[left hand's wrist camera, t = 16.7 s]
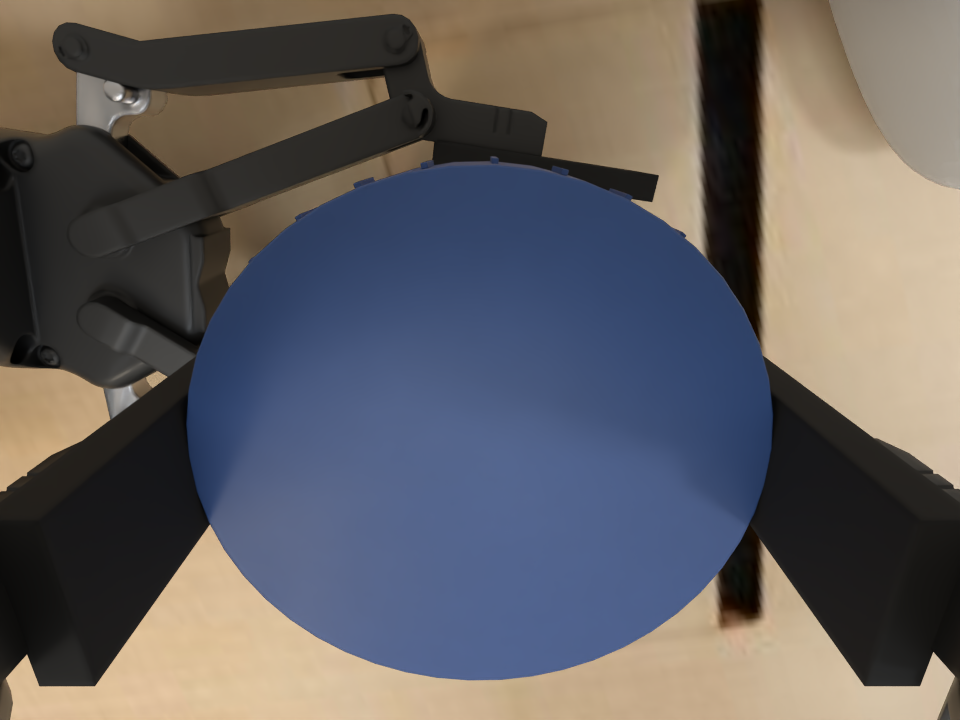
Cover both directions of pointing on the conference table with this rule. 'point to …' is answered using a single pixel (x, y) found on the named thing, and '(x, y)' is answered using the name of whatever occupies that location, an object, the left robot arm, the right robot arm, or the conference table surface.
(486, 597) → the lid
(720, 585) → the conference table surface
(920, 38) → the projector
